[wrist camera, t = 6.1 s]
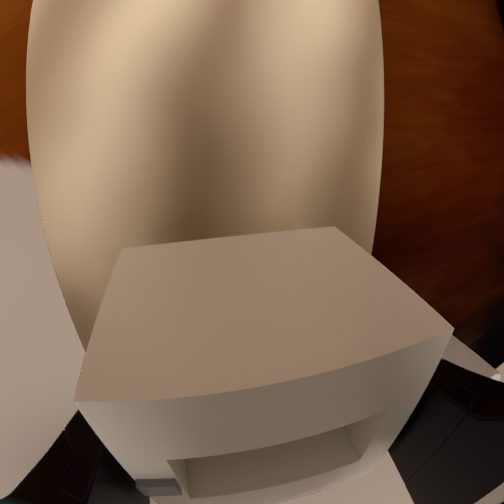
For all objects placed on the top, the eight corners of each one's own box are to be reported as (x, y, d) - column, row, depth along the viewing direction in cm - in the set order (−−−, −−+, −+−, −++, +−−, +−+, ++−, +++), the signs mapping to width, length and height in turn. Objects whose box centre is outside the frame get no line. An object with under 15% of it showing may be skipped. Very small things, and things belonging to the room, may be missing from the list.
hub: (334, 226, 9) (461, 334, 4) (316, 370, 11) (373, 477, 7) (121, 248, 8) (71, 412, 3) (162, 394, 10) (172, 522, 6)
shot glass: (409, 389, 24) (447, 440, 17) (375, 375, 21) (421, 441, 14) (459, 335, 22) (505, 381, 16) (436, 309, 19) (496, 366, 13)
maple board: (354, -44, 8) (369, -54, 7) (342, 328, 17) (353, 344, 16) (55, -39, 6) (45, -51, 4) (103, 362, 15) (99, 381, 13)
